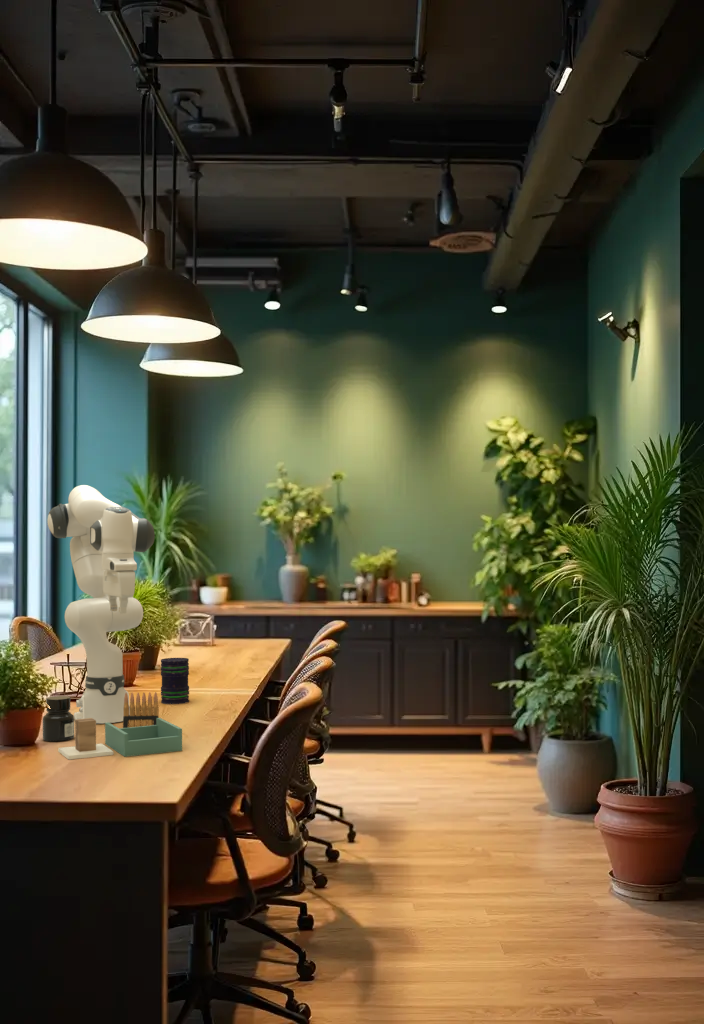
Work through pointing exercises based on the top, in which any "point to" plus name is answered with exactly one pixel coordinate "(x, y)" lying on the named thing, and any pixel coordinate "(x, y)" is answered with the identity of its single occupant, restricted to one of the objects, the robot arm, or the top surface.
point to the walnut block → (85, 734)
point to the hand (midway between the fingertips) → (118, 612)
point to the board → (85, 752)
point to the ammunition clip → (140, 711)
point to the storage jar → (174, 680)
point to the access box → (144, 738)
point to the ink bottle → (58, 720)
